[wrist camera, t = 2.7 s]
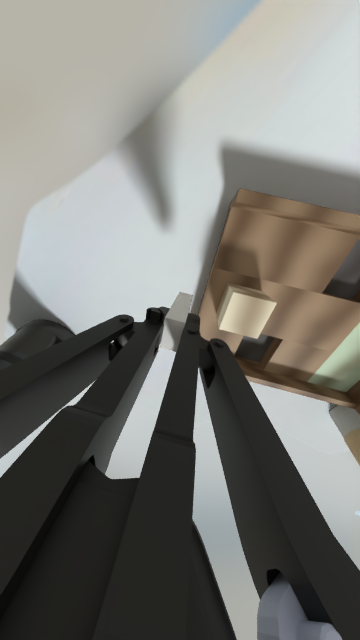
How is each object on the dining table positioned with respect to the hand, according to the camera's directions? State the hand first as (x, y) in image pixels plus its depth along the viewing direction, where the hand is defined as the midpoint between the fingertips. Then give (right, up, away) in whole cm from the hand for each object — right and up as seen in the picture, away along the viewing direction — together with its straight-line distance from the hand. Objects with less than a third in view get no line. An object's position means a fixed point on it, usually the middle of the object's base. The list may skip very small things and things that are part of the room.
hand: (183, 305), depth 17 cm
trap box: (+18, 0, +8) cm, 20 cm away
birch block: (+8, +1, +6) cm, 10 cm away
